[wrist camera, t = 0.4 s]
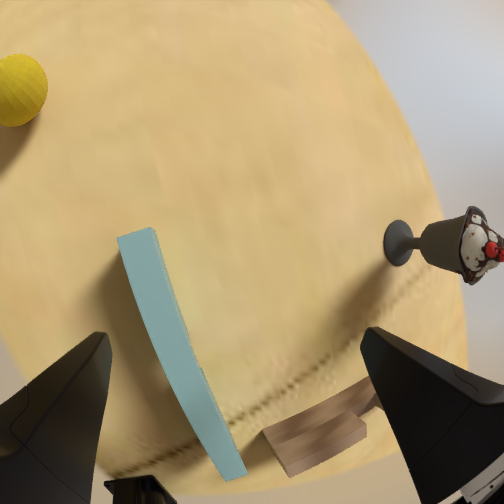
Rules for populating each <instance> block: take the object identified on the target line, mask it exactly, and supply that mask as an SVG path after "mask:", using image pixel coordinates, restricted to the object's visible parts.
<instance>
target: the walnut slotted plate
mask: <svg viewBox="0 0 504 504" xmlns="http://www.w3.org/2000/svg"><path fill="white" fill-rule="evenodd" d="M375 406H378V407H379V408H381V409H382V410H383V411H384V409H383V407H382V405H381V402H380V400H379V398H378V396H377V394H376V391H375V389H374V387H373V385H372V382H371V380H370V377H369V376H367V377H366V378H364V379H363V380H361V381H359V382H358V383H356V384H354V385H352V386H351V387H349V388H347V389H346V390H344V391H342V392H340V393H338V394H337V395H335V396H333V397H331V398H329V399H327V400H325V401H323V402H322V403H320V404H318V405H316V406H314V407H312V408H310V409H308V410H305V411H303V412H301V413H299V414H297V415H295V416H293V417H291V418H288V419H286V420H284V421H282V422H279V423H277V424H275V425H272V426H270V427H267V428H265V429H262V431H263V433H264V436H265V439H266V441H267V443H268V445H269V446H270V448H271V450H272V451H273V453H274V455H275V456H276V458H277V459H278V461H279V463H280V464H281V466H282V467H283V469H284V471H285V472H286V474H287V475H288V477H289V478H291V477H293V476H295V475H297V474H299V473H302V472H304V471H306V470H308V469H310V468H312V467H314V466H316V465H318V464H320V463H322V462H324V461H326V460H328V459H330V458H331V457H333V456H335V455H337V454H339V453H340V452H342V451H344V450H346V449H347V448H349V447H351V446H352V445H354V444H356V443H357V442H359V441H361V440H362V439H364V438H365V437H367V428H366V423H365V422H364V421H362V420H361V419H360V418H359V416H361V415H363V414H364V413H366V412H367V411H369V410H370V409H372V408H373V407H375Z"/></svg>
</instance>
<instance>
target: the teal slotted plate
mask: <svg viewBox="0 0 504 504" xmlns="http://www.w3.org/2000/svg"><path fill="white" fill-rule="evenodd" d="M117 242H118V245H119V249H120V252H121V256H122V259H123V263H124V266H125V269H126V272H127V275H128V279H129V282H130V285H131V288H132V291H133V294H134V297H135V299H136V302H137V305H138V308H139V311H140V313H141V316H142V319H143V321H144V324H145V327H146V329H147V332H148V334H149V337H150V339H151V342H152V344H153V347H154V349H155V351H156V354H157V356H158V358H159V361H160V363H161V365H162V367H163V370H164V372H165V374H166V376H167V378H168V380H169V383H170V385H171V387H172V389H173V391H174V393H175V395H176V397H177V399H178V401H179V403H180V405H181V407H182V409H183V411H184V413H185V415H186V416H187V418H188V420H189V422H190V424H191V426H192V428H193V429H194V431H195V433H196V435H197V436H198V438H199V440H200V442H201V443H202V445H203V447H204V449H205V450H206V452H207V454H208V455H209V457H210V458H211V460H212V462H213V463H214V465H215V466H216V468H217V470H218V471H219V473H220V474H221V476H222V477H223V479H224V480H225V482H226V481H229V480H232V479H235V478H239V477H242V476H244V475H247V474H248V472H247V470H246V468H245V465H244V463H243V461H242V459H241V456H240V454H239V452H238V449H237V447H236V445H235V442H234V440H233V438H232V435H231V433H230V431H229V429H228V427H227V425H226V422H225V420H224V418H223V416H222V414H221V412H220V409H219V407H218V405H217V403H216V400H215V398H214V396H213V394H212V391H211V389H210V387H209V384H208V382H207V380H206V377H205V375H204V372H203V370H202V368H200V367H199V364H198V362H197V359H196V357H195V354H194V351H193V349H192V346H191V343H190V339H189V335H188V331H187V328H186V326H185V323H184V320H183V317H182V314H181V312H180V309H179V306H178V303H177V300H176V297H175V294H174V291H173V288H172V285H171V282H170V279H169V275H168V272H167V269H166V266H165V262H164V259H163V256H162V252H161V249H160V245H159V242H158V238H157V235H156V231H155V230H154V229H152V228H151V227H149V228H146V229H142V230H139V231H136V232H133V233H130V234H126V235H123V236H120V237H117Z"/></svg>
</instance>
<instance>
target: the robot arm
mask: <svg viewBox="0 0 504 504" xmlns="http://www.w3.org/2000/svg"><path fill="white" fill-rule="evenodd" d="M360 351H361V354H362V356H363V359H364V362H365V365H366V368H367V371H368V374H369V377H370V380H371V382H372V385H373V387H374V389H375V391H376V394H377V396H378V398H379V400H380V402H381V405H382V407H383V409H384V411H385V414H386V416H387V418H388V421H389V423H390V425H391V427H392V430H393V432H394V435H395V437H396V439H397V442H398V444H399V446H400V449H401V451H402V454H403V456H404V459H405V461H406V464H407V466H408V469H409V472H410V474H411V477H412V479H413V482H414V484H415V487H416V490H417V493H418V496H419V498H420V501H421V504H438V503H440V502H441V501H443V500H444V499H446V498H447V497H449V496H450V495H452V494H453V493H455V492H456V491H458V490H460V492H461V493H462V496H461V497H460V498H458V499H457V500H456V501H454V502H453V503H452V504H504V385H501V384H498V383H496V382H493V381H490V380H487V379H485V378H483V377H480V376H478V375H475V374H473V373H471V372H468V371H466V370H464V369H462V368H460V367H458V366H456V365H454V364H452V363H451V364H450V363H449V362H447V361H445V360H443V359H441V358H439V357H437V356H435V355H433V354H431V353H429V352H427V351H425V350H423V349H421V348H419V347H417V346H415V345H413V344H411V343H409V342H407V341H405V340H403V339H401V338H399V337H397V336H395V335H393V334H391V333H389V332H387V331H385V330H383V329H381V328H380V327H377V326H375V327H369V328H367V329H366V331H365V333H364V336H363V339H362V341H361V344H360ZM111 363H112V349H111V346H110V342H109V338H108V335H107V333H105V332H98V331H96V332H94V333H92V334H91V335H90V336H88V337H87V338H86V339H84V340H83V341H82V342H80V343H79V344H78V345H76V346H75V347H74V348H73V349H71V350H70V351H69V352H67V353H66V354H65V355H64V356H62V357H61V358H60V359H58V360H57V361H56V362H55V363H53V364H52V365H51V366H50V367H48V368H47V369H46V370H44V371H43V372H42V373H41V374H39V375H38V376H37V377H36V378H34V379H33V380H32V381H31V382H29V383H28V384H27V386H24V387H23V388H22V389H21V390H20V391H18V392H17V393H16V394H15V395H13V396H12V397H11V398H9V399H8V400H7V401H5V402H4V403H2V404H1V405H0V504H90V501H91V491H92V481H93V473H94V466H95V459H96V453H97V447H98V441H99V435H100V430H101V425H102V420H103V415H104V410H105V406H106V401H107V396H108V388H109V379H110V371H111ZM104 486H105V487H106V488H107V489H108V490H109V491H110V492H111V493H112V494H113V504H177V501H176V500H175V499H174V498H173V497H172V496H171V495H170V494H169V493H168V492H167V490H166V489H165V488H164V487H163V486H162V485H161V484H160V482H159V481H158V480H157V479H156V478H155V477H154V476H152V475H147V476H141V477H135V478H128V479H120V480H110V481H104Z"/></svg>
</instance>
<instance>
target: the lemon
mask: <svg viewBox="0 0 504 504" xmlns="http://www.w3.org/2000/svg"><path fill="white" fill-rule="evenodd" d="M47 91H48V82H47V77H46V75H45V72H44V70H43V68H42V67H41V65H40V64H39V63H38V62H37V61H36V60H34V59H33V58H32V57H30V56H27V55H24V54H14V55H10V56H7V57H5V58H4V59H2V60H0V125H3V126H7V127H16V126H20V125H23V124H25V123H27V122H28V121H30V120H31V119H32V118H34V117H35V116H36V115H37V113H38V112H39V111H40V109H41V108H42V106H43V104H44V102H45V99H46V96H47Z"/></svg>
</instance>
